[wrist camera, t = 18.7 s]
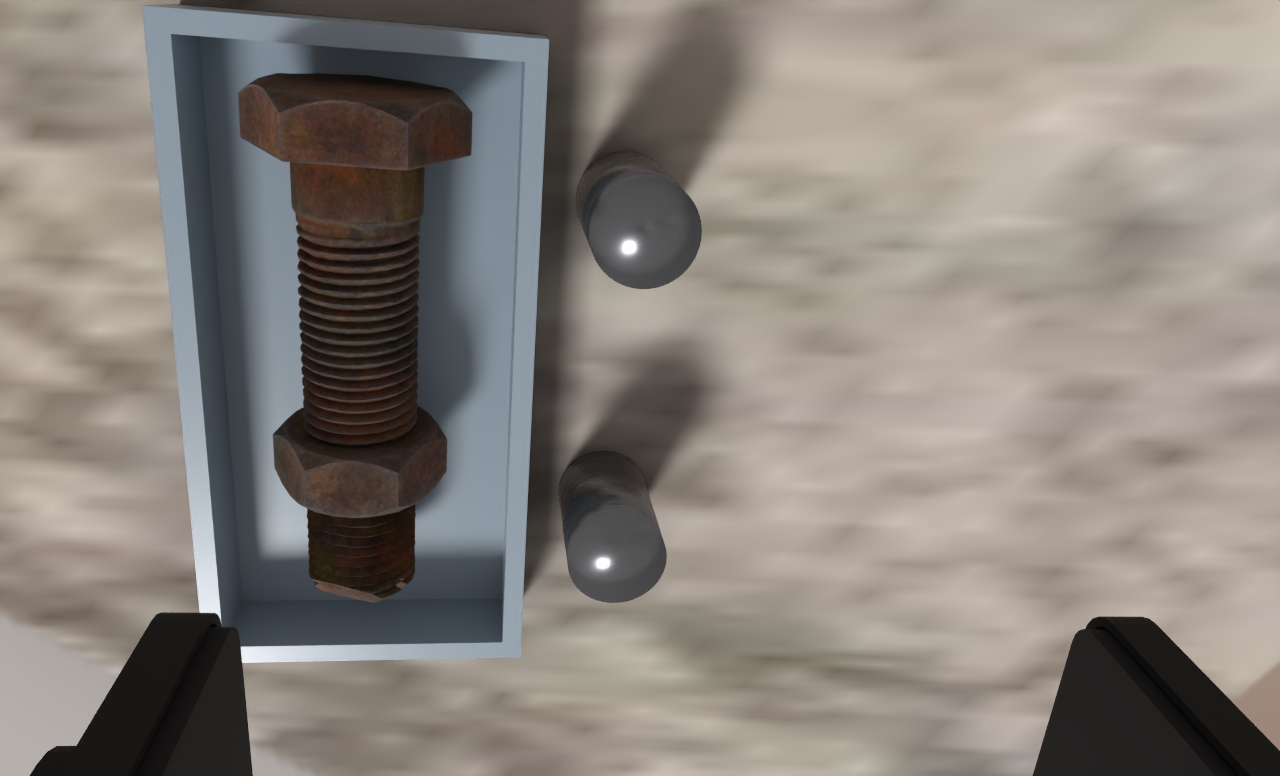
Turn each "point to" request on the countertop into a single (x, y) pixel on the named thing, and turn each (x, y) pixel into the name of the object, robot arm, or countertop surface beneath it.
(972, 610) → the countertop surface
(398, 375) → the bolt
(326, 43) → the tray
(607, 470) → the peg
